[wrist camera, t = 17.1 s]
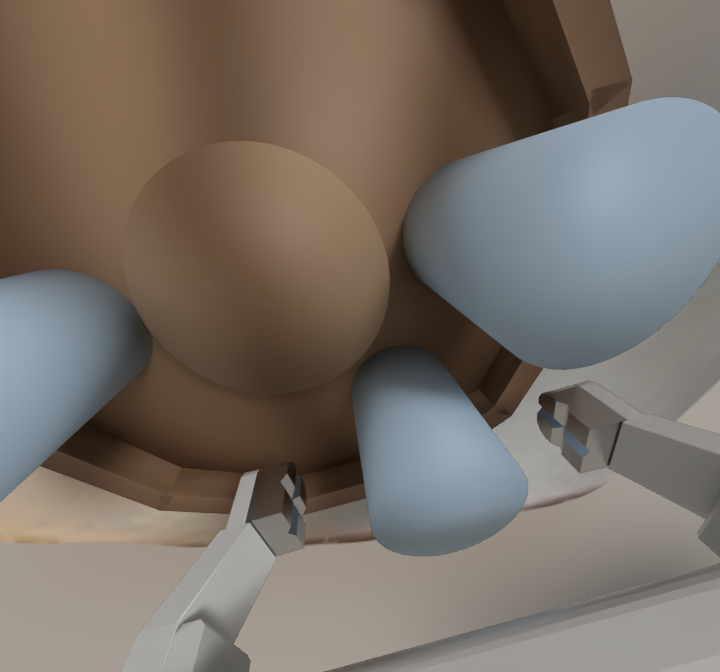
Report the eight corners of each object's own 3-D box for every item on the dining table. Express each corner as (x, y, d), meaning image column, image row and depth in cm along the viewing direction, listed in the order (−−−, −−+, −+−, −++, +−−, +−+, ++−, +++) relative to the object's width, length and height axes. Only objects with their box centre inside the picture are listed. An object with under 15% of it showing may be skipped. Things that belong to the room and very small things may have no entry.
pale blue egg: (450, 411, 12) (524, 532, 8) (363, 434, 12) (386, 570, 8) (441, 333, 10) (532, 433, 6) (339, 361, 10) (352, 482, 6)
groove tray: (593, -360, 5) (781, -748, 3) (530, 407, 14) (567, 443, 12) (-431, -108, 5) (-975, -331, 3) (163, 506, 14) (134, 560, 12)
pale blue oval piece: (526, 140, 8) (798, 60, 3) (520, 275, 10) (691, 338, 5) (392, 177, 8) (485, 143, 3) (411, 304, 10) (489, 392, 5)
